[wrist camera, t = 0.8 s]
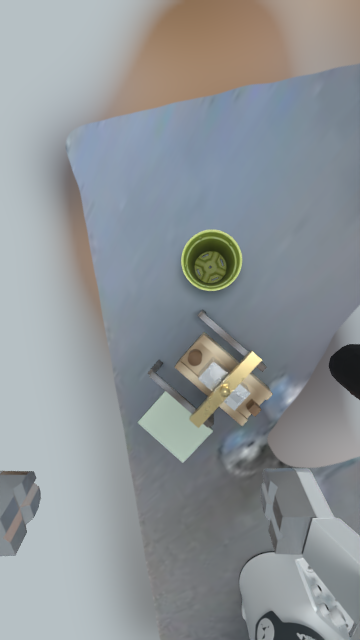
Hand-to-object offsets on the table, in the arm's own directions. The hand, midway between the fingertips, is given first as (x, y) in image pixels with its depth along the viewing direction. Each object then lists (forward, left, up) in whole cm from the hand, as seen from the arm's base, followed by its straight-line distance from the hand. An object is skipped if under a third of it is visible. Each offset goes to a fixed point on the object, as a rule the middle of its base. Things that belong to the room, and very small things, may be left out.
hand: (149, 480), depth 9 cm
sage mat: (-9, +17, -42) cm, 46 cm away
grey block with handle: (-9, +3, -39) cm, 40 cm away
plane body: (-7, +3, -42) cm, 43 cm away
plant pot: (+6, -11, -42) cm, 44 cm away
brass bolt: (-9, +3, -34) cm, 35 cm away
